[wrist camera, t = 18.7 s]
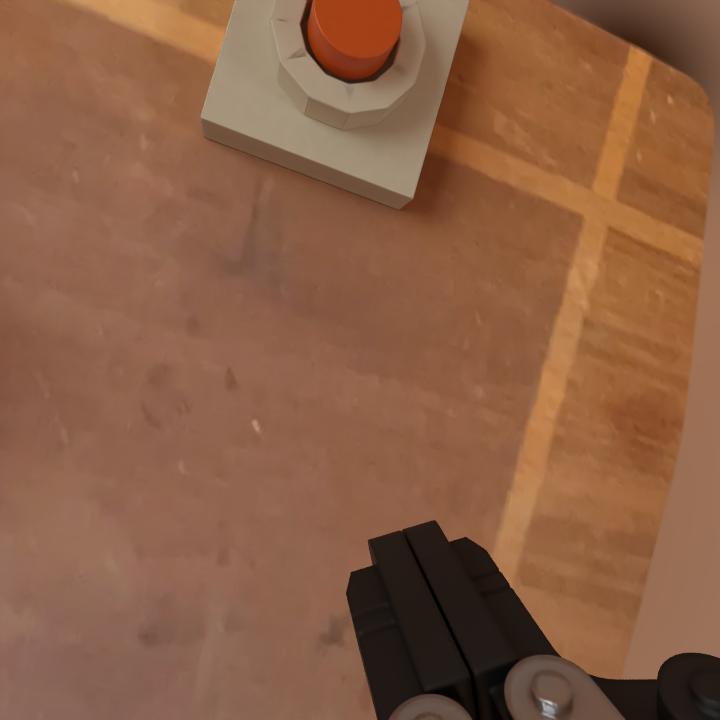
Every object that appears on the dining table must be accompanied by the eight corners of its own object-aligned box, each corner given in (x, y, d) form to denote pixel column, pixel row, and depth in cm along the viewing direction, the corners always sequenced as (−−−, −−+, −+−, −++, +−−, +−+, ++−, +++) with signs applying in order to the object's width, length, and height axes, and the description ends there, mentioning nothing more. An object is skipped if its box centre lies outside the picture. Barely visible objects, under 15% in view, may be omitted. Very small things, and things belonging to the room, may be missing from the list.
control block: (451, 26, 26) (488, -28, 23) (399, 210, 26) (427, 188, 22) (263, -64, 24) (268, -141, 20) (203, 137, 24) (196, 97, 20)
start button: (399, 15, 22) (413, -12, 20) (377, 93, 22) (388, 73, 20) (321, -23, 21) (328, -54, 20) (296, 59, 21) (302, 34, 20)
